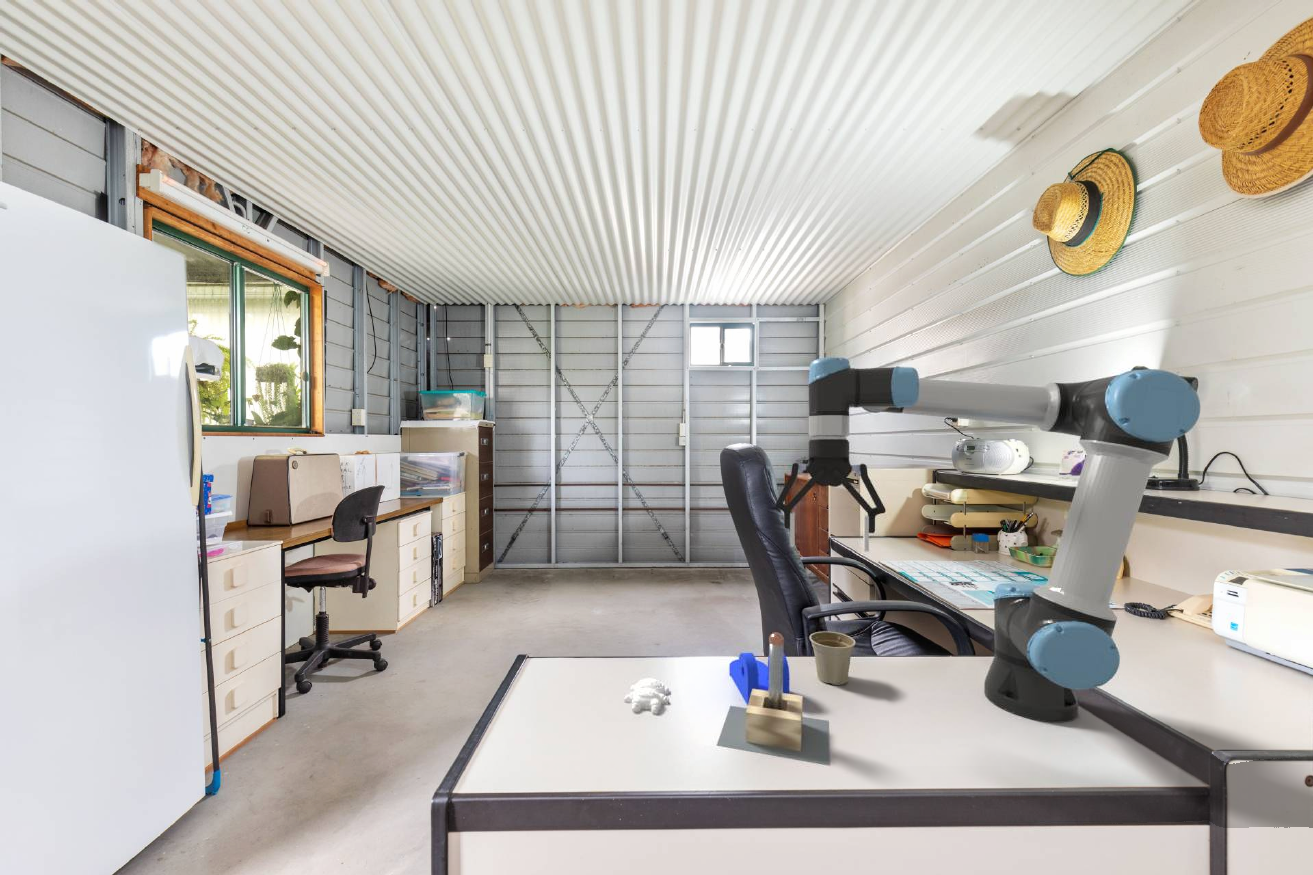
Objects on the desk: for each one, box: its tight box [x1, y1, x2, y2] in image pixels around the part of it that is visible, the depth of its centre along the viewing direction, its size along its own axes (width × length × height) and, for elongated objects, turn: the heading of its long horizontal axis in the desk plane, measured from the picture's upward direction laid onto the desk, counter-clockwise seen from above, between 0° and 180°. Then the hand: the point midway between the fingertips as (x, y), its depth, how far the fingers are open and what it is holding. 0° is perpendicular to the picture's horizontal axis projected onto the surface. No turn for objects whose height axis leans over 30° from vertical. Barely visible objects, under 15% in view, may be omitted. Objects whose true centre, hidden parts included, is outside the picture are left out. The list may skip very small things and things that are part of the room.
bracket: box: [728, 652, 790, 706], centre depth 112 cm, size 18×8×9 cm, turn 6°
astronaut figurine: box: [623, 677, 670, 715], centre depth 105 cm, size 9×12×3 cm
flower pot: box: [809, 631, 856, 686], centre depth 115 cm, size 9×9×9 cm
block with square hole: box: [746, 689, 804, 751], centre depth 93 cm, size 9×9×5 cm
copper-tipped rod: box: [768, 632, 785, 710], centre depth 93 cm, size 3×3×17 cm
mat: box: [716, 705, 831, 766], centre depth 93 cm, size 18×14×1 cm
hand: (828, 547), depth 103 cm, fingers open, 13 cm apart
